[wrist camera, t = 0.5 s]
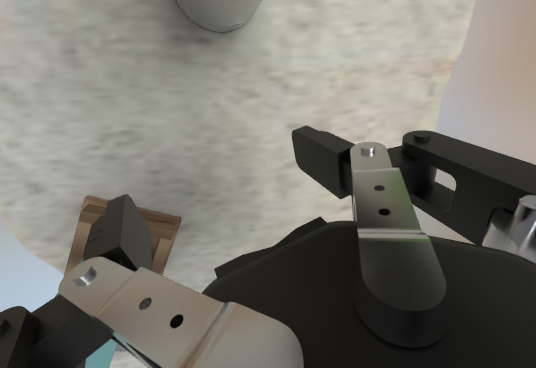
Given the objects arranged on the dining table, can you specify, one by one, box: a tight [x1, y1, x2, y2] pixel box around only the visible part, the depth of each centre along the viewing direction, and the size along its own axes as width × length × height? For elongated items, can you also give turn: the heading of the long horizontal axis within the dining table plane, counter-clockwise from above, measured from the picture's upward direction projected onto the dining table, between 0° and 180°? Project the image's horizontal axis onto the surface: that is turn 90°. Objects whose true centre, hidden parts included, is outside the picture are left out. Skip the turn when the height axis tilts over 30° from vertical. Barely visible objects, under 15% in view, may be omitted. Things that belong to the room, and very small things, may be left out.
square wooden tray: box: [64, 196, 181, 277], centre depth 30 cm, size 10×10×3 cm
